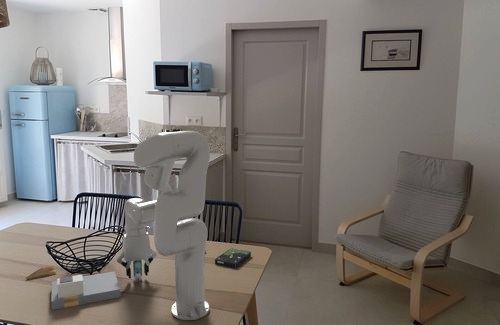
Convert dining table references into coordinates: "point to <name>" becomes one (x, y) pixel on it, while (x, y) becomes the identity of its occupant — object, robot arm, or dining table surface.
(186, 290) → the robot arm
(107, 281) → the subfloor panel
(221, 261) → the disk drive
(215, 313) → the dining table surface
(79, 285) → the white rectangular block
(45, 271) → the shard
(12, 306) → the dining table surface
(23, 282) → the dining table surface
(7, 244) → the dining table surface
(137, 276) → the green silver cylinder
